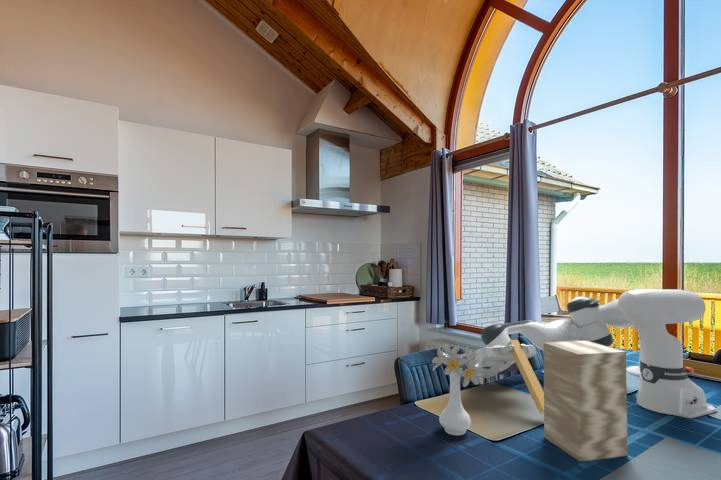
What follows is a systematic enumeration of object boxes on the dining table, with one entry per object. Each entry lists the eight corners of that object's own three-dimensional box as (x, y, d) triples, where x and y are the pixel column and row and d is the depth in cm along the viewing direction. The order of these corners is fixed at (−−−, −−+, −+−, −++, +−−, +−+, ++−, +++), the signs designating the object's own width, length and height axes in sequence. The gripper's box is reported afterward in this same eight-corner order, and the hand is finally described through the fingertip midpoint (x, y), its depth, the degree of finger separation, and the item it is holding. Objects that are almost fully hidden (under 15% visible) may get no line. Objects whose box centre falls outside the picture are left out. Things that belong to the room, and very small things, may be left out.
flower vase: (462, 450, 102) (461, 357, 103) (421, 424, 118) (421, 343, 118) (497, 440, 108) (496, 352, 109) (453, 416, 123) (453, 339, 124)
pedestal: (587, 432, 113) (586, 340, 113) (627, 455, 100) (625, 351, 101) (544, 437, 110) (543, 342, 110) (579, 461, 97) (578, 354, 98)
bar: (514, 343, 138) (517, 339, 136) (548, 412, 121) (552, 409, 119) (507, 344, 137) (510, 340, 135) (539, 413, 120) (543, 410, 118)
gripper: (526, 365, 146) (548, 354, 134) (475, 368, 141) (493, 357, 130) (521, 348, 149) (541, 336, 137) (471, 350, 144) (488, 338, 133)
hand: (517, 346), depth 133 cm, fingers closed on bar, 3 cm apart
